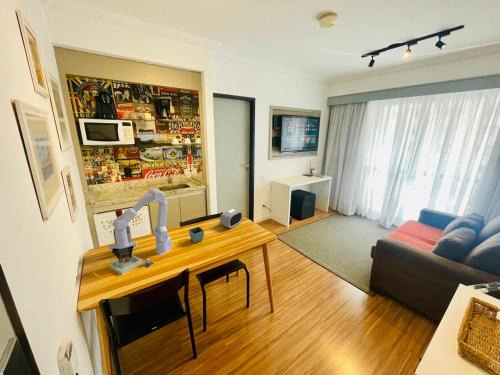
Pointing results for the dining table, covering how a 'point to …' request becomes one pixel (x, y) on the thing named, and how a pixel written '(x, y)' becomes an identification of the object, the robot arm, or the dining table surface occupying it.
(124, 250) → the liquor
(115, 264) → the tray
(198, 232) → the flower pot
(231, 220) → the alarm clock
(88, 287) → the dining table surface
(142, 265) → the grey piece
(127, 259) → the ring
